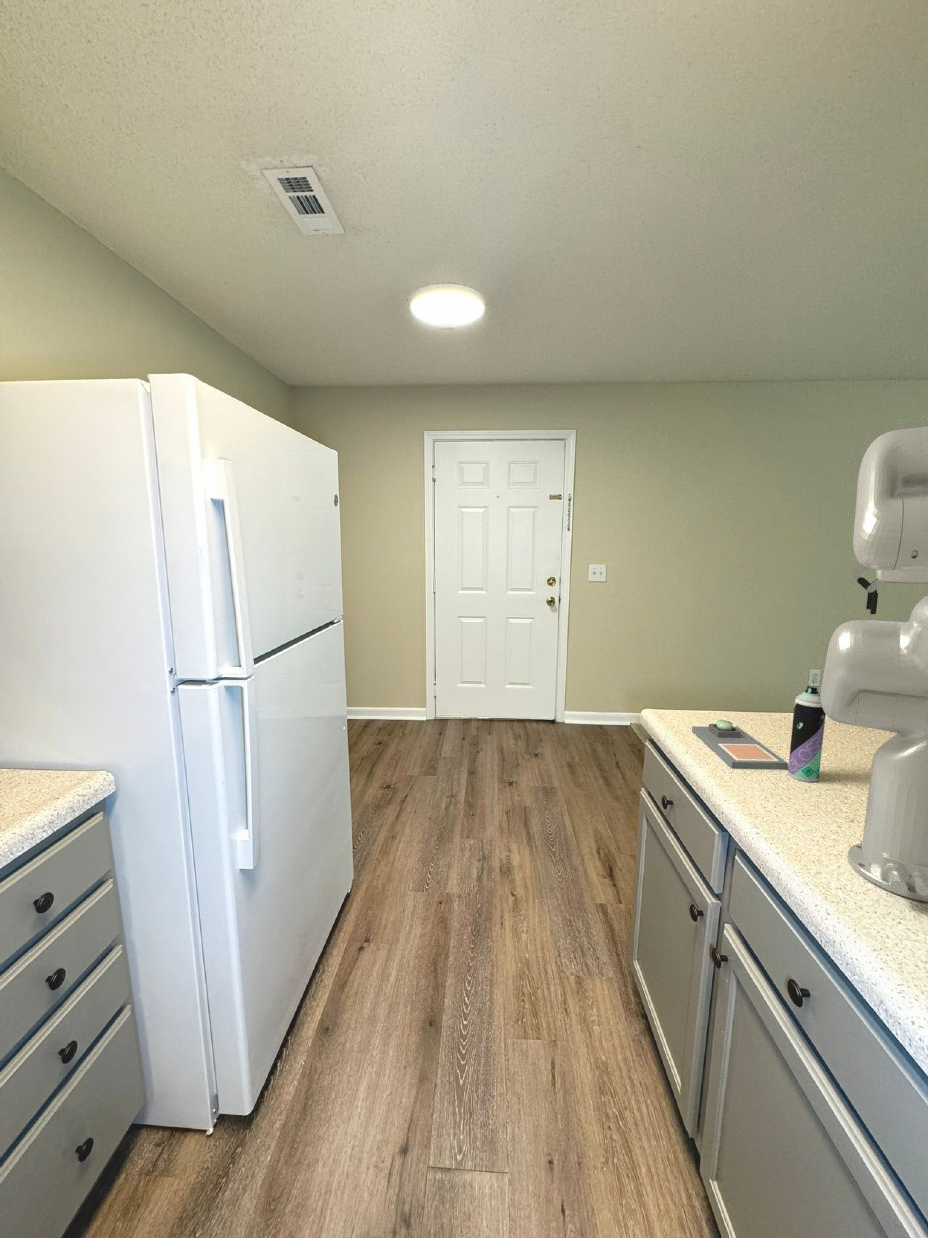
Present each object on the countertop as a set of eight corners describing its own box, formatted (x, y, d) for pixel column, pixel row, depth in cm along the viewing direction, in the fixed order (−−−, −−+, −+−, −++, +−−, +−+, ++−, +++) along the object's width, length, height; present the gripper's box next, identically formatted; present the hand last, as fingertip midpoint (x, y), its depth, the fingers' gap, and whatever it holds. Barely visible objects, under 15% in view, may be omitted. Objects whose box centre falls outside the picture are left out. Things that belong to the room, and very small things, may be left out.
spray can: (789, 779, 105) (798, 688, 102) (786, 768, 110) (794, 681, 107) (820, 784, 102) (830, 691, 99) (816, 774, 107) (825, 685, 104)
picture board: (787, 769, 109) (788, 756, 109) (731, 768, 110) (732, 755, 109) (737, 732, 131) (738, 721, 130) (691, 731, 132) (692, 720, 131)
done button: (735, 731, 124) (735, 725, 124) (720, 731, 124) (720, 725, 124) (728, 726, 128) (728, 720, 127) (713, 725, 128) (714, 720, 128)
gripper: (857, 519, 88) (846, 614, 91) (996, 515, 78) (980, 622, 80) (856, 521, 94) (846, 609, 96) (986, 517, 83) (971, 617, 86)
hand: (907, 615), depth 88 cm, fingers open, 9 cm apart
